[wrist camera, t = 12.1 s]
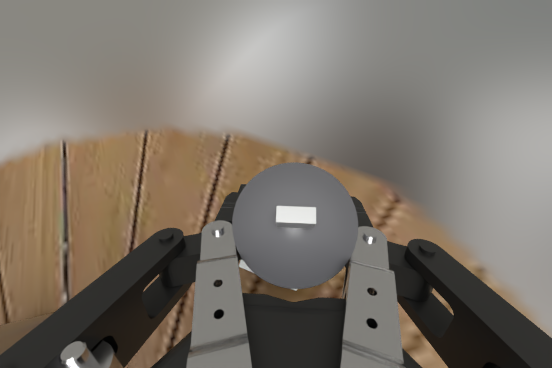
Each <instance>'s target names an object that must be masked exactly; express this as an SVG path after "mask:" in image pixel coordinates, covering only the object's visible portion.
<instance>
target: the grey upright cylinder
mask: <svg viewBox="0 0 552 368" xmlns="http://www.w3.org/2000/svg"><path fill="white" fill-rule="evenodd" d="M232 230H233V237H234V242H235V245H236V247H237V250H238V252H239V254H240V256H241V258H242V259H243V261H244V262H245V264H246V265H247V266H248V267H249V268H250V269H251V270H252V271H253V272H254V273H255V274H256V275H257V276H259V277H260V278H262V279H263V280H265V281H267V282H269V283H271V284H273V285H276V286H279V287H283V288H290V289H303V288H310V287H313V286H317V285H320V284H322V283H324V282H326V281H328V280H329V279H331V278H332V277H334V276H335V275H336V274H337V273H338V272H340V271H341V270H342V268H343V267H344V266H345V265H346V264H347V262H348V260H349V259H350V257H351V255H352V253H353V251H354V249H355V245H356V242H357V236H358V218H357V212H356V209H355V205H354V203H353V201H352V198H351V197H350V195H349V193H348V191H347V190H346V189H345V187H344V186H343V185H342V184H341V183H340V182H339V181H338V180H337V179H336V178H335V177H334V176H332V175H331V174H329V173H328V172H326V171H325V170H323V169H321V168H319V167H316V166H313V165H309V164H305V163H284V164H279V165H275V166H272V167H270V168H268V169H266V170H264V171H262V172H260V173H259V174H258V175H256V176H255V177H254V178H253V179H252V180H250V181H249V182H248V184H247V185H246V186H245V187H244V189H243V190H242V192H241V193H240V195H239V197H238V199H237V202H236V205H235V208H234V212H233V218H232Z"/></svg>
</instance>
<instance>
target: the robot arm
mask: <svg viewBox="0 0 552 368" xmlns="http://www.w3.org/2000/svg"><path fill="white" fill-rule="evenodd" d="M246 185H247V184H241V186H240V189H239V191H238V193H237V192H232V193H230V194H229V195H228V196H227V197H226V198H225V200H224V203H223V204H222V206H221V208H220V211H219V213H218V215H217V217H216V219H215V221H213V222H211V223H209V224H207V225H206V226H205V227H204V228H203V230H202V233H199V234H194V235H189V236H184V235H183V232H182V231H181V230H180V229H177V228H167V229H163V230H160V231H158V232H156V233H155V234H154V235H152V236H151V237H150V238H148V239H147V240H146V241H145V242H143V243H142V244H141V245H140V246H138V247H137V248H136V249H134V250H133V251H132V252H131V253H129V254H128V255H127V256H126V257H124V258H123V259H122V260H120V261H119V262H118V263H117V264H115V265H114V266H113V267H112V268H110V269H109V270H108V271H106V272H105V273H104V274H103V275H101V276H100V277H99V278H98V279H96V280H95V281H94V282H92V283H91V284H90V285H89V286H87V287H86V288H85V289H84V290H82V291H81V292H80V293H78V294H77V295H76V296H75V297H73V298H72V299H71V300H70V301H68V302H67V303H66V304H64V305H63V306H62V307H61V308H59V309H58V310H57V311H56V312H54V313H50V314H46V315H42V316H38V317H33V318H29V319H25V320H21V321H16V322H12V323H8V324H4V325H0V368H124V367H125V366H126V365H127V364H128V362H129V361H130V360H131V359H132V357H133V356H134V355H135V354H136V353H137V351H138V350H139V349H140V348H141V346H142V345H143V344H144V343H145V341H146V340H147V339H148V338H149V337H150V335H151V334H152V333H153V332H154V330H155V329H156V328H157V327H158V325H159V324H160V323H161V322H162V321H163V319H164V318H165V317H166V316H167V314H168V313H169V312H170V311H171V309H172V308H173V307H174V306H175V305H176V303H177V302H178V301H179V300H180V298H181V297H182V296H183V295H184V293H185V292H186V291H187V290H188V289H189V287H190V286H191V285H192V283H193V282H195V296H194V309H193V322H192V331H191V332H190V333H189V334H188V335H187V336H186V337H184V338H183V339H182V340H181V341H180V342H179V343H178V344H177V345H176V346H174V347H173V348H172V349H171V350H170V351H169V352H168V353H167V354H165V355H164V356H163V357H162V358H161V359H160V360H159V361H158V362H157V363H155V364H154V365H153V366H152V367H151V368H422V367H421V366H420V365H419V364H418V363H417V362H416V361H415V360H414V359H413V358H412V357H411V356H410V355H409V354H408V353H407V352H406V351H405V350H403V349H402V343H401V333H400V323H399V314H398V304H397V301H398V303H399V304H400V305H401V306H402V308H403V309H404V310H405V312H406V313H407V314H408V316H409V317H410V318H411V319H412V321H413V322H414V323H415V325H416V326H417V327H418V329H419V330H420V331H421V332H422V334H423V335H424V336H425V338H426V339H427V340H428V342H429V343H430V344H431V345H432V347H433V348H434V349H435V351H436V352H437V353H438V355H439V356H440V357H441V358H442V360H443V361H444V362H445V364H446V365H447V366H448V368H552V338H551V337H549V336H548V335H547V334H546V333H545V332H543V331H542V330H541V329H540V328H538V327H537V326H536V325H535V324H534V323H532V322H531V321H530V320H529V319H527V318H526V317H525V316H524V315H523V314H521V313H520V312H519V311H518V310H516V309H515V308H514V307H513V306H512V305H510V304H509V303H508V302H507V301H505V300H504V299H503V298H502V297H501V296H499V295H498V294H497V293H496V292H494V291H493V290H492V289H491V288H489V287H488V286H487V285H486V284H485V283H483V282H482V281H481V280H480V279H478V278H477V277H476V276H475V275H474V274H472V273H471V272H470V271H469V270H467V269H466V268H465V267H464V266H463V265H461V264H460V263H459V262H458V261H456V260H455V259H454V258H453V257H452V256H450V255H449V254H448V253H447V252H445V251H444V250H443V249H442V248H441V247H439V246H438V245H436V244H434V243H432V242H430V241H427V240H423V239H414V240H411V241H410V242H409V243H408V245H407V246H403V245H399V244H395V243H392V242H389V241H387V238H386V236H385V235H384V234H383V233H382V232H381V231H379V230H377V229H375V228H373V226H372V224H371V222H370V220H369V218H368V216H367V214H366V211H365V209H364V207H363V205H362V203H361V202H360V201H359V200H358V199H357V198H355V197H351V198H352V201H353V203H354V205H355V209H356V212H357V218H358V236H357V242H356V245H355V249H354V251H353V253H352V255H351V257H350V259H349V260H348V262H347V264H346V265H345V267H346V272H345V277H344V284H343V292H342V299H337V298H315V299H310V300H304V301H299V302H289V301H286V300H282V299H279V298H276V297H272V296H269V295H265V294H248V293H242V289H241V282H240V274H239V266H238V262H239V260H243V259H242V258H241V256H240V254H239V252H238V250H237V247H236V245H235V242H234V237H233V230H232V218H233V212H234V208H235V205H236V202H237V199H238V197H239V195H240V193H241V192H242V190H243V189H244V187H245V186H246ZM158 274H159V277H158V278H157V279H156V280H155V281H154V282H153V283H152V284H151V285H150V286H149V287H148V288H147V289H146V290H145V291H144V292H143V290H144V289H145V287H146V286H147V285H148V284H149V283H150V282H151V281H152V280H153V279H154V278H155V277H156V276H157V275H158ZM433 288H434V289H435V290H436V291H437V292H438V293H439V294H440V295H441V296H442V297H443V298H444V299H445V300H446V301H447V302H448V304H449V305H450V306H451V308H452V310H453V313H454V316H453V315H452V314H451V313H450V312H449V310H448V309H447V308H446V307H445V306H444V305H443V304H442V303H441V302H440V301H439V300H438V299H437V298H436V297H435V296H434V295H433V294H432V293H431V292H432V290H433Z"/></svg>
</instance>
